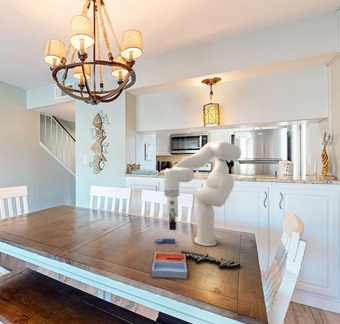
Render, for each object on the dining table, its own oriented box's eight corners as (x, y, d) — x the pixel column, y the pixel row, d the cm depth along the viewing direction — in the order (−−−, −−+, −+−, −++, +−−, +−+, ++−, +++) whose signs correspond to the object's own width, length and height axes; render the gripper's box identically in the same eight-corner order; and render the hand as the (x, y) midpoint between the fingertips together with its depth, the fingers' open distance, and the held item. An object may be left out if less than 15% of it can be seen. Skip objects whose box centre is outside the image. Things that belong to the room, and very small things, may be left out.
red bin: (184, 259, 100) (184, 253, 100) (185, 267, 92) (185, 261, 92) (155, 257, 101) (155, 252, 101) (153, 266, 93) (153, 260, 93)
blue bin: (185, 268, 91) (185, 262, 91) (187, 278, 84) (187, 272, 83) (153, 266, 93) (153, 260, 93) (151, 276, 85) (151, 270, 85)
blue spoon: (174, 241, 121) (175, 237, 121) (175, 244, 117) (175, 240, 117) (156, 240, 122) (156, 236, 122) (155, 243, 118) (155, 239, 118)
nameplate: (240, 258, 97) (240, 269, 88) (240, 262, 97) (240, 272, 88) (182, 248, 108) (177, 257, 98) (182, 251, 108) (177, 260, 98)
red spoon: (181, 259, 98) (181, 255, 98) (181, 264, 94) (181, 259, 94) (158, 258, 99) (158, 254, 99) (157, 263, 95) (157, 258, 95)
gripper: (180, 196, 97) (181, 232, 98) (178, 190, 114) (178, 221, 115) (164, 196, 98) (164, 232, 98) (164, 190, 115) (165, 221, 115)
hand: (172, 226), depth 107 cm, fingers open, 9 cm apart
